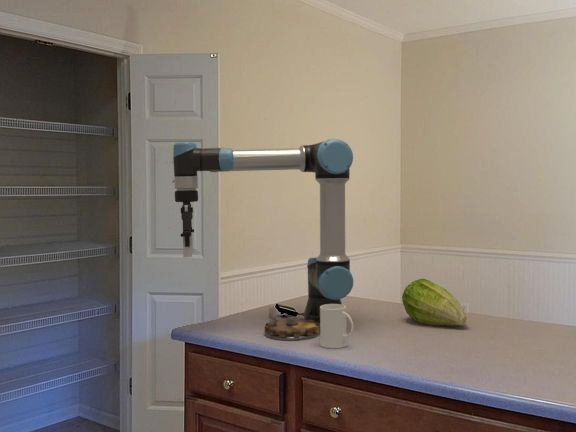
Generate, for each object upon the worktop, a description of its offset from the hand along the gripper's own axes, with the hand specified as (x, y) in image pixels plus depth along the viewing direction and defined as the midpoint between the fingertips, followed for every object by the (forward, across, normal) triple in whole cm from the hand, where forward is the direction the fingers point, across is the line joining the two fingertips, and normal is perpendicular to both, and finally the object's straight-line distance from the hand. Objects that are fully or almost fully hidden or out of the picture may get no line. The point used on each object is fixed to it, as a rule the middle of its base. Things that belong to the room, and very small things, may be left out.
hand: (188, 254), depth 193 cm
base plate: (+28, +3, +34) cm, 44 cm away
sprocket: (+26, +3, +34) cm, 43 cm away
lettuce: (+28, 0, +84) cm, 89 cm away
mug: (+28, +20, +45) cm, 57 cm away
